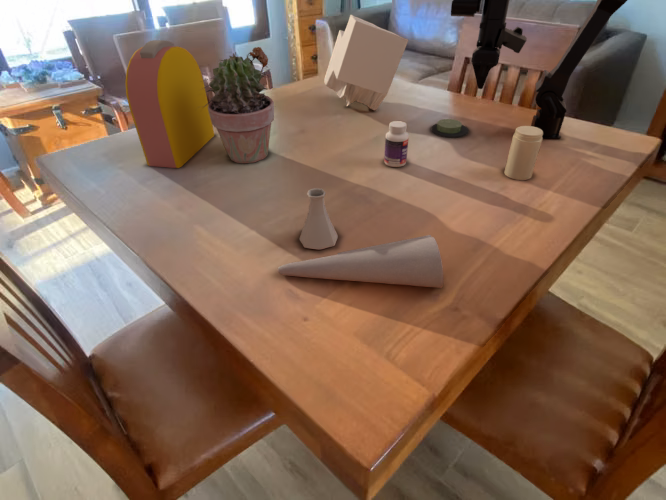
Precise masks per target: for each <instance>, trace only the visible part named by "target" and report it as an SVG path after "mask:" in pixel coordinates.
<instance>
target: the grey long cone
mask: <svg viewBox="0 0 666 500" xmlns="http://www.w3.org/2000/svg"><path fill="white" fill-rule="evenodd" d="M277 271H278V274H279V275H283V276H289V277H298V278H311V279H322V280H323V279H325V280H336V281H351V282H362V283H375V284H386V285H387V284H388V285H403V286H415V287H426V288H438V289H441V288H443V286H444V267H443V262H442V256H441V252H440V248H439V245H438V242H437V239H435V237H434V236H432V234H426V235H423V236H418V237H417V236H416V237H412V238H407V239H402V240H397V241H392V242H386V243H380V244H376V245H371V246H366V247H361V248H356V249H351V250H346V251H341V252H337V254H332V255H327V256H322V257H315V258H310V259H305V260H299V261H293V262H288V263H285V264H282V265H280V266H278V268H277Z"/></svg>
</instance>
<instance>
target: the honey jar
mask: <svg viewBox="0 0 666 500" xmlns="http://www.w3.org/2000/svg"><path fill="white" fill-rule="evenodd" d="M542 136H543V131H542V130H541V129H539V128H537V127H533V126H531V125H521V126H518V127H516V128H515V131H514V133H513V134H512V139H511V142H510V146H509V150H508V155H507V158H506V163H505V166H504V171H503V172H504V173H503V174H504V175H505V176H507V177H508V178H510V179H512V180H517V181H526V180H530V179H532V177H533V174H534V171H535V170H534V169H535V167H536V163H537V161H538V157H539V154H540V151H541V146H542V143H543V140H544V138H542Z"/></svg>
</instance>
